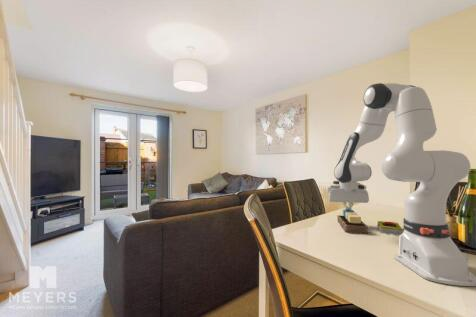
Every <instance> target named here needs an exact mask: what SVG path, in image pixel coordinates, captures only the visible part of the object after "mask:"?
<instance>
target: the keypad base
mask: <svg viewBox="0 0 476 317" xmlns="http://www.w3.org/2000/svg"><path fill="white" fill-rule="evenodd" d="M337 222H338V224H339V225H340V227H341V228H342V230H343V231H344V232H345V233H348V234H350V233H351V234H366V235H369V226H368V225H367V224H365V222H363V221H362V220H361V223H356V224H353V223H350V222H349V221H348V220H347V219H346V218H345V217H344V215H341V214H339V215H337Z"/></svg>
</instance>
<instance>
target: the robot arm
mask: <svg viewBox="0 0 476 317" xmlns="http://www.w3.org/2000/svg"><path fill="white" fill-rule="evenodd" d="M363 103H364V107H363V110H362V111H361V115H360V117H359V121H358V125H357V126H356V128H355V130H354V131H353V132H352V133H351V134H350V135H349V136H348V139H347V141H346V143H345V145H344V148H343V151H342V152H341V155H340V158H339V160H338V162H337V164H336V166H335V167H334V170H333V175H334V178H335V179H336V180H337V181H338V182H339V183H338V185H333V184H331V185H329V186H328V187H327V191H328V201H329V202H330V203H342V204H343V206H344V209H345V210H353V209H352V208H353V206H354V204H355V203H361V204H362V203H363V204H365V203H366V204H367V203H369V201H370V198H369V197H370V196H369V191H368V190H367V185H365V184H362V183H361V182H365V181H368V180H370V178H371V177H372V174H373V173H372V167H371V166H370V165H369V164H368V163H366V162H362V161H359V160H358V159H357V158H356V157H355V156H356V153H357V151H358V150H359V149H360V148H362V147H364V145H365V146H366V144H369V143H373V142H374V141H376V140H378V139H380V138H381V137H382V135H383V133H384V130H385V128H386V124H387V122H388V116H389V115H390V113H392V112H394V118H395V124H396V132H397V135H396V136H397V138H396V143H395V145H394V147H393V149H392V150H391V151H390V152H389V153H388V154H387V155H386V156H384V158H383V159H382V161H381V170H382V173H383V175H384V176H385V177H386V178H387V179H388V180H390V181H391V180H392V181H396V182H402V183H419V185H418V187H417V188H416V190H414V191H412V192H410V193H408V194H407V195H406V196H405V198H404V218H403V221H402V226H403V231H402V234H401V235H399V239H398V253H396V254H395V255H394V259H395V260H397V261H398V262H399V263H401V264H402V265H404V266H405V267H406V268H408V269H409V270H411V271H413V272H414V273H416V274H417V275H419V276H420V277H422V278H423V279H425V280H428V281H431V282H435V283H439V284H446V285H452V286H462V287H476V276H475V274H473V273H472V272H471V271H470V270H469V263H468V255H467V253H465V252H461V250H460V248H458V245H456V244H455V242H454V241H453V239H452V238H451V236H452V235H451V234H452V233H451V232H452V230H450V227H449V224H448V223H447V202H448V197H449V195H450V193H451V191H452V190H453V189H454V187H455V186H456V185H457V184H458V183H459V182H460V181H462V180H463V179H465V178H467V176H468V175H469V173H470V171H471V162H470V160H469V158H468V157H467V156H466V155H465V154H464V153H462V152H457V151H451V150H443V149H442V150H440V149H439V150H424V143H425V142H427V141H429V140H430V139H431V138H433V137H434V136H435V134H436V133H437V123H436V121H435V120H436V119H435V116H434V115H435V114H434V111H433V107H432V103H431V100H430V98H429V96H428V94H427V92H426V91H425V90H424V88H422V87H420V86H415V85H412V84H401V83H396V82H395V83H391V82H390V83H389V82H388V83H383V82H381V83H380V82H379V83H373V84H370V85H369V86H368V87H367V89H366V90H365V91H364V93H363ZM359 182H360V183H359ZM347 203H349V204H350V205H349V206H347V205H346V204H347Z"/></svg>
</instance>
